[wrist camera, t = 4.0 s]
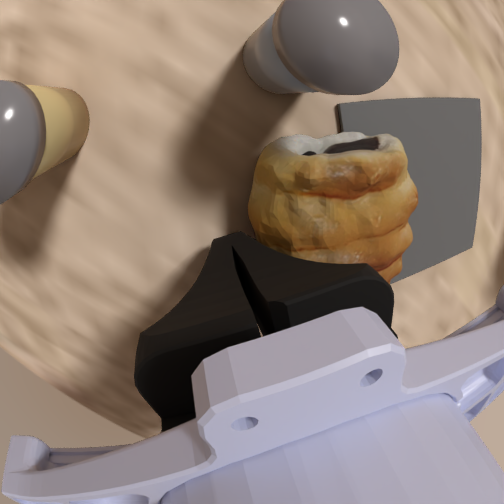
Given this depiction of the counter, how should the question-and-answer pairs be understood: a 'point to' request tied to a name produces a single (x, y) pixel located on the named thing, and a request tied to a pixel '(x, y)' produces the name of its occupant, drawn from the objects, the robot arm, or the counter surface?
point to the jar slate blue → (323, 48)
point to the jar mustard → (37, 132)
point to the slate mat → (431, 168)
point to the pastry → (335, 199)
